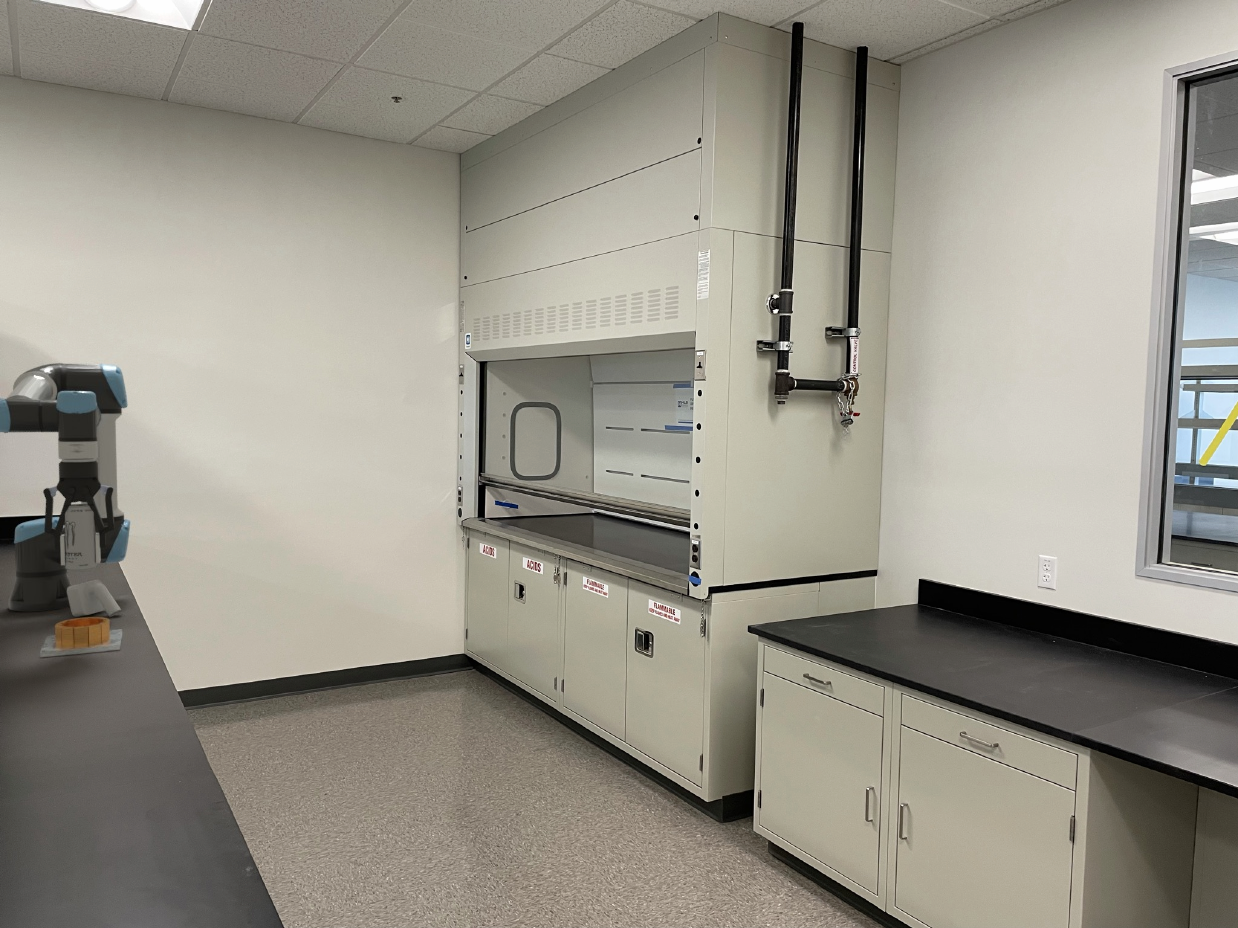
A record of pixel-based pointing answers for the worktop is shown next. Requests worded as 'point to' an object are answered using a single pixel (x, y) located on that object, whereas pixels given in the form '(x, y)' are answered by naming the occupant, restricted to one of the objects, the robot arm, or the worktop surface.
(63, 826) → the worktop surface
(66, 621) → the keeper
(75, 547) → the energy drink can
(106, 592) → the wall hook
